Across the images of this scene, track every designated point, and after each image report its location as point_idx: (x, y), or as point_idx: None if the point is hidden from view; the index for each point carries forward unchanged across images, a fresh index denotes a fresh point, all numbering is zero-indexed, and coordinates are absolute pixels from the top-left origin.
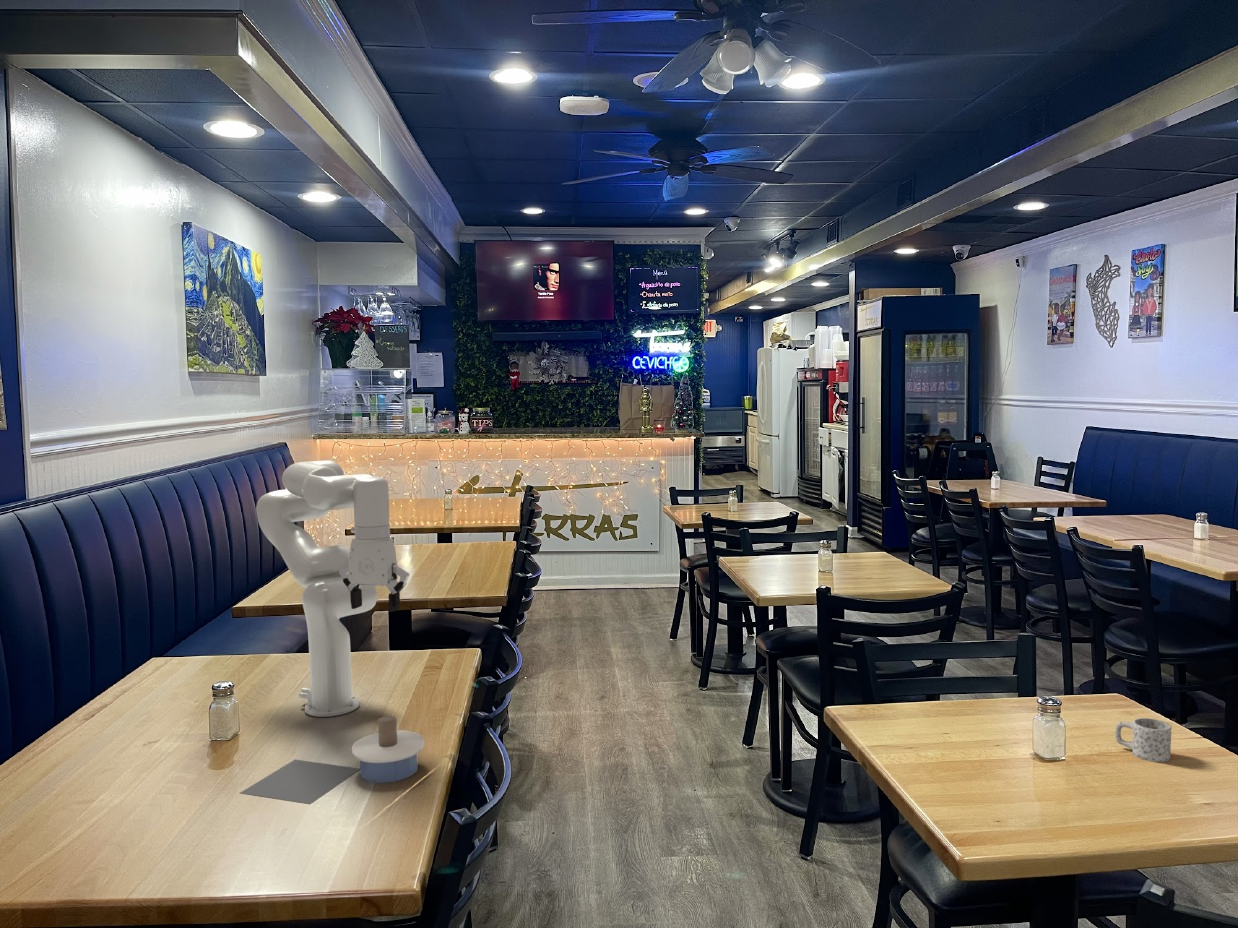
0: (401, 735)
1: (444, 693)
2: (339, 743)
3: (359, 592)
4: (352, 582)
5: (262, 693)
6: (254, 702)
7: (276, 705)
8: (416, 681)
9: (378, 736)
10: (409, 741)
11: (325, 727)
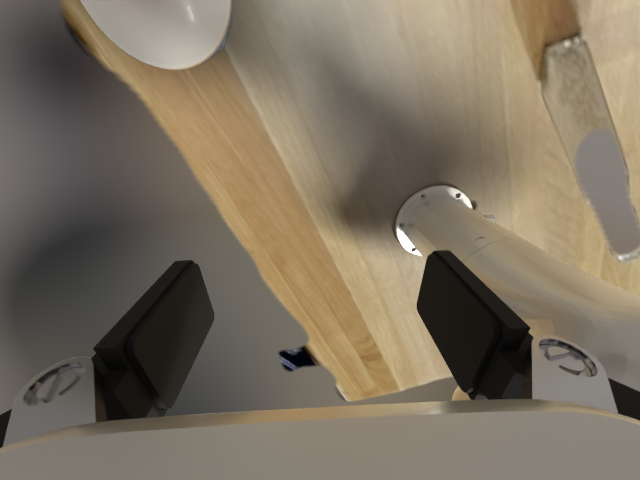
0: (161, 36)
1: (311, 302)
2: (346, 100)
3: (461, 362)
4: (614, 416)
5: (558, 237)
6: (558, 206)
7: (519, 206)
8: (367, 321)
9: (200, 10)
10: (117, 5)
11: (404, 153)
